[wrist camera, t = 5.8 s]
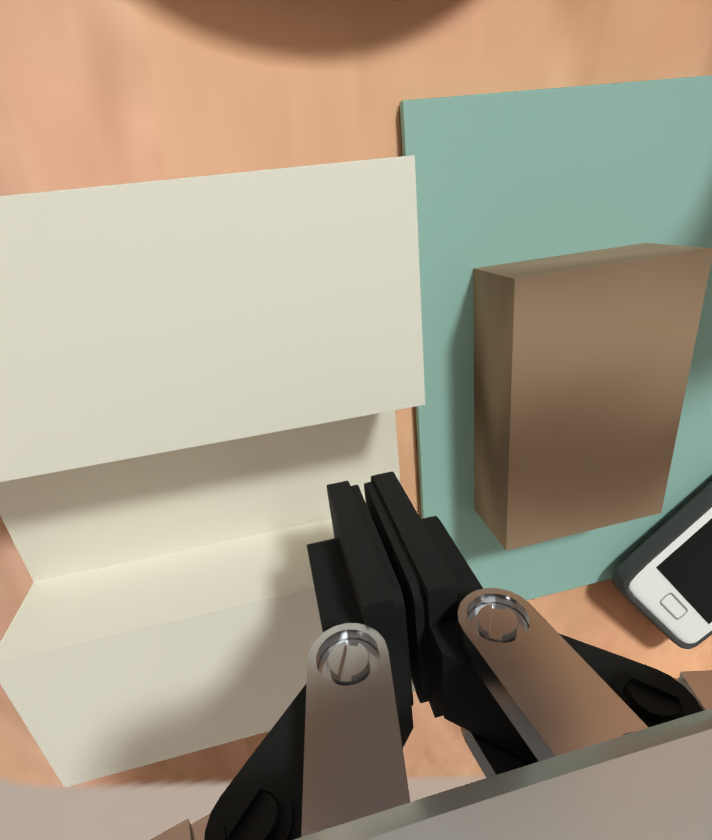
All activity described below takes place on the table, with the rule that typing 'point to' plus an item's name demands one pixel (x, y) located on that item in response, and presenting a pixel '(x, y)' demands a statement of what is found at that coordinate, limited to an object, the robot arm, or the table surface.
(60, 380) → the slotted block
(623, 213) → the mat
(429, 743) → the table surface
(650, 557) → the cell phone
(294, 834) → the robot arm
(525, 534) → the brown flat block
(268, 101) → the table surface
